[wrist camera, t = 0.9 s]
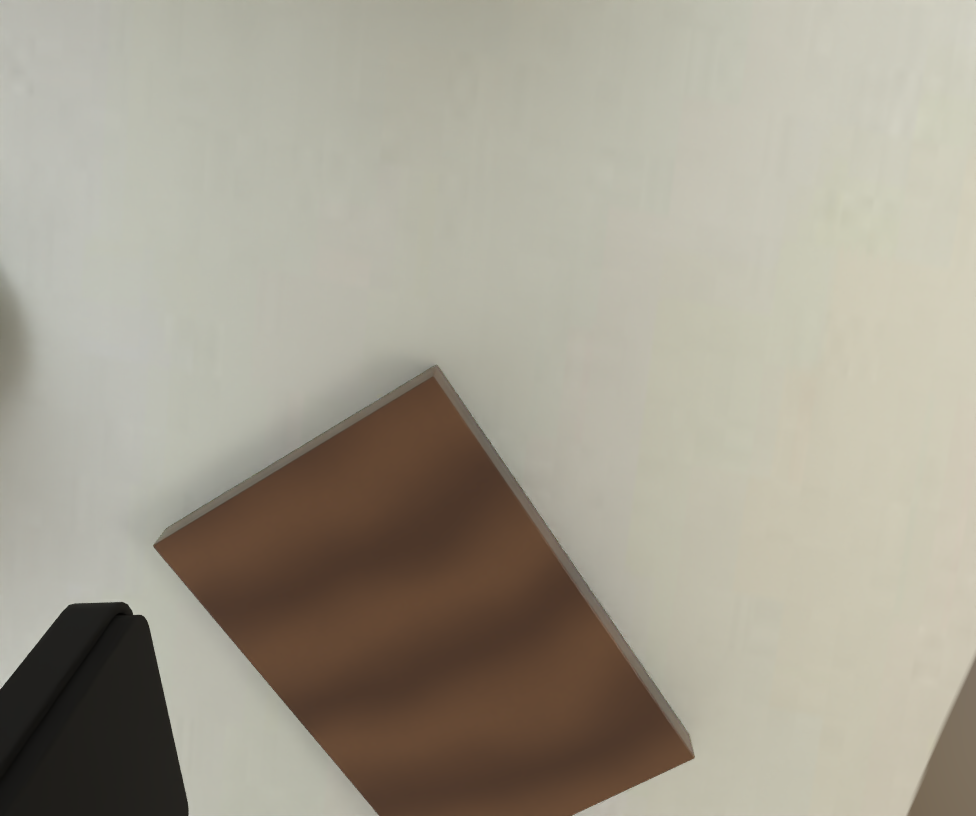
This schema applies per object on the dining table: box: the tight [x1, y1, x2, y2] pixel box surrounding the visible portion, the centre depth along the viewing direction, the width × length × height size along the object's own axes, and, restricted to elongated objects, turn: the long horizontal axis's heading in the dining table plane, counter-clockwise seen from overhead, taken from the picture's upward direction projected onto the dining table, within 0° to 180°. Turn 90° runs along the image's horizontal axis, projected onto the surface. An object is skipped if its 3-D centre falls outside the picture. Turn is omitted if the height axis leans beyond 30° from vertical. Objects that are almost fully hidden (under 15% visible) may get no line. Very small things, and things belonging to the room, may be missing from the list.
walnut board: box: [153, 365, 695, 816], centre depth 47 cm, size 24×16×2 cm, turn 33°
